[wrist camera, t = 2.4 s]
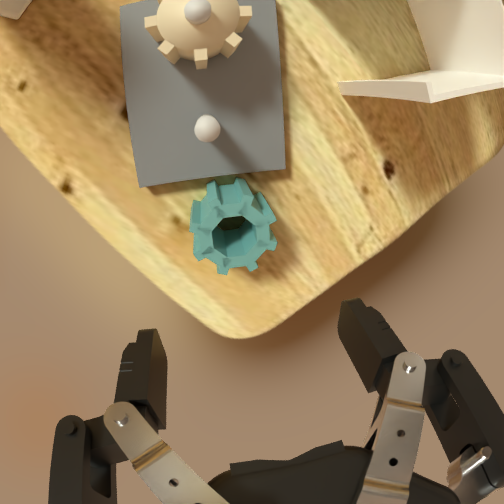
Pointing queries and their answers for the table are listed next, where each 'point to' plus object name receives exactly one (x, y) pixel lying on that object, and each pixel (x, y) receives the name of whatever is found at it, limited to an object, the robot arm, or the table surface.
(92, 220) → the table surface
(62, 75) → the table surface
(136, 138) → the board
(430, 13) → the white folded wall panels
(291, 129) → the table surface
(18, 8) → the syrup box
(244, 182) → the gear
